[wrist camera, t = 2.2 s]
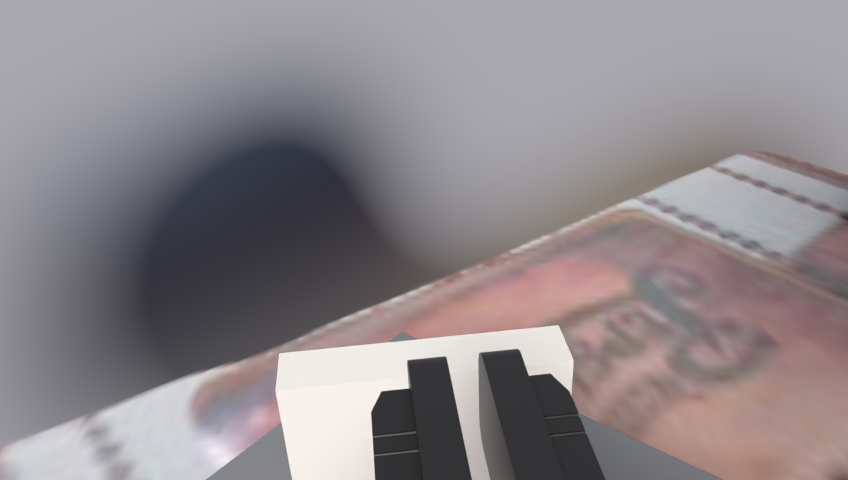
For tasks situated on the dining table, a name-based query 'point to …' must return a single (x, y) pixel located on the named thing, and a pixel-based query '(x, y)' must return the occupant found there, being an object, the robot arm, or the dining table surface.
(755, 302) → the dining table surface
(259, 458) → the mat
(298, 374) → the tile
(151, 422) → the dining table surface
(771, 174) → the dining table surface
